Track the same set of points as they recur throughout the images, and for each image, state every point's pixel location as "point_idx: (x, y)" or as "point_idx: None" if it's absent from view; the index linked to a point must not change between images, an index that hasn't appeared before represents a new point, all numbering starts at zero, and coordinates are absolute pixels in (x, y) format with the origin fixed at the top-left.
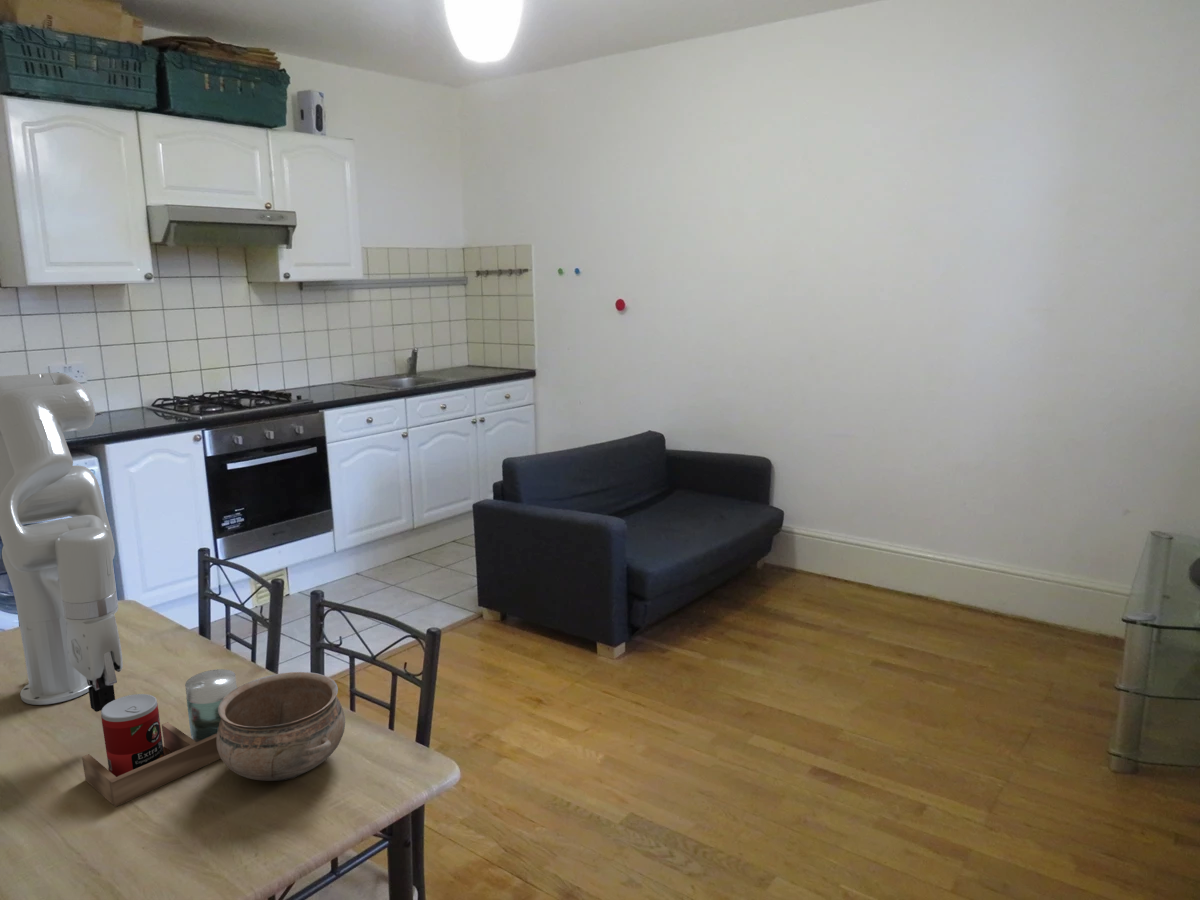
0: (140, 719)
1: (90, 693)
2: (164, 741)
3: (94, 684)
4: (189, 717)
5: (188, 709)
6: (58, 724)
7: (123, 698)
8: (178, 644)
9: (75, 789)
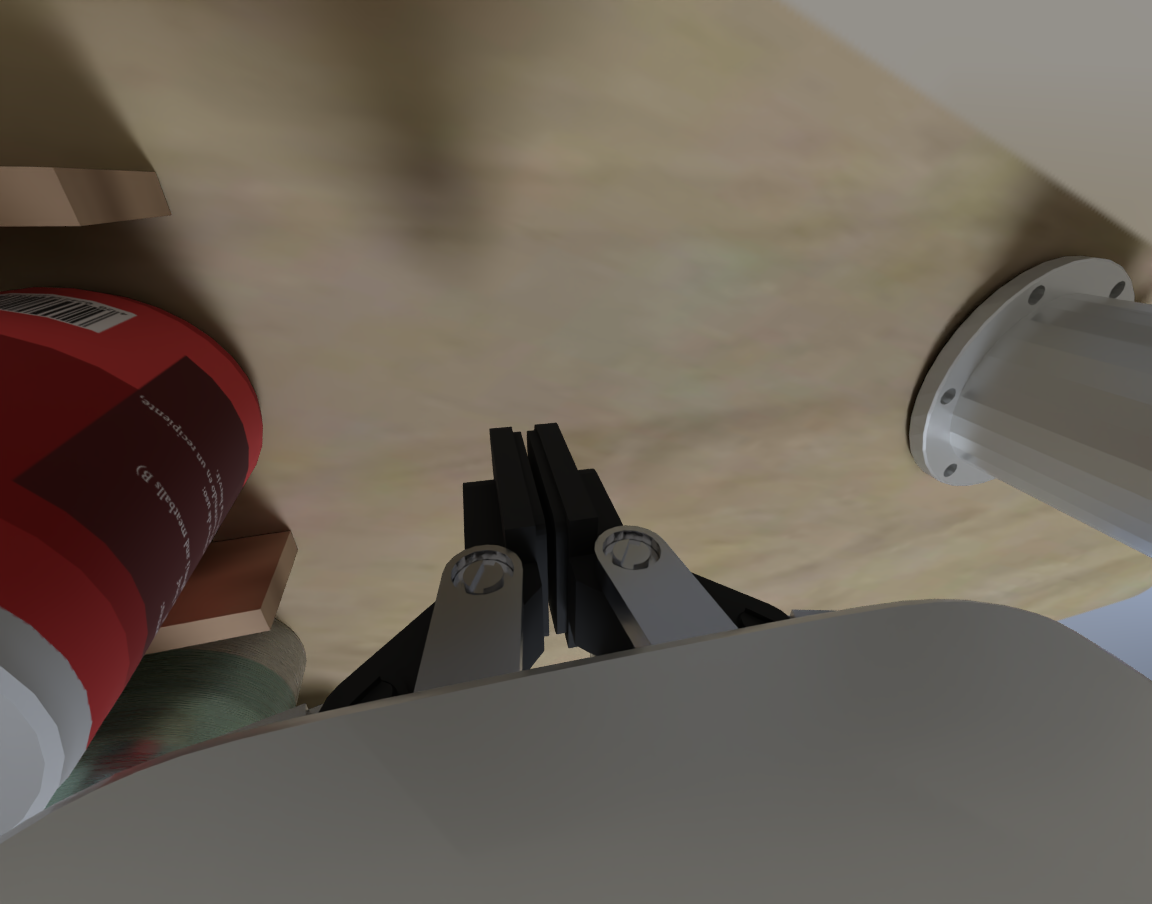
0: None
1: (559, 491)
2: (272, 549)
3: (469, 605)
4: (108, 744)
5: None
6: (818, 289)
7: (4, 727)
8: None
9: (48, 75)
